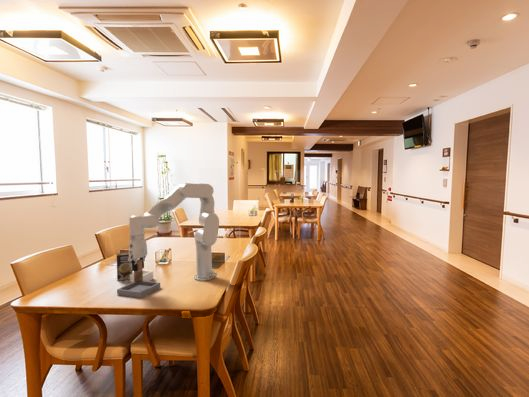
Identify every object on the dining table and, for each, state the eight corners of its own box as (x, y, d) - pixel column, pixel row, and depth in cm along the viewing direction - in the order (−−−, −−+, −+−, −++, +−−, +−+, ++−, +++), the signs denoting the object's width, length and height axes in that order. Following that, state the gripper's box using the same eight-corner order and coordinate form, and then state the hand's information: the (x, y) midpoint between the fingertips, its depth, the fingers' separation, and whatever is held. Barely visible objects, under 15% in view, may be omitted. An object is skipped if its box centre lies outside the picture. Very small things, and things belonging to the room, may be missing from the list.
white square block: (153, 278, 192) (153, 271, 191) (142, 283, 183) (142, 275, 182) (141, 277, 195) (140, 269, 194) (130, 282, 186) (129, 274, 185)
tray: (160, 287, 176) (160, 282, 176) (141, 298, 161) (141, 292, 161) (137, 284, 181) (137, 279, 181) (117, 294, 166) (117, 289, 166)
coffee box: (117, 281, 188) (116, 255, 187) (117, 278, 194) (115, 253, 192) (133, 278, 192) (132, 253, 191) (132, 275, 198) (131, 251, 197)
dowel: (144, 280, 172) (143, 259, 171) (139, 282, 168) (138, 261, 167) (138, 279, 173) (137, 258, 173) (132, 281, 169) (131, 260, 168)
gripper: (131, 240, 160) (132, 274, 161) (152, 235, 176) (153, 265, 177) (120, 240, 162) (121, 273, 163) (142, 234, 178) (143, 264, 179)
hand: (138, 269), depth 170 cm, fingers closed on dowel, 4 cm apart
